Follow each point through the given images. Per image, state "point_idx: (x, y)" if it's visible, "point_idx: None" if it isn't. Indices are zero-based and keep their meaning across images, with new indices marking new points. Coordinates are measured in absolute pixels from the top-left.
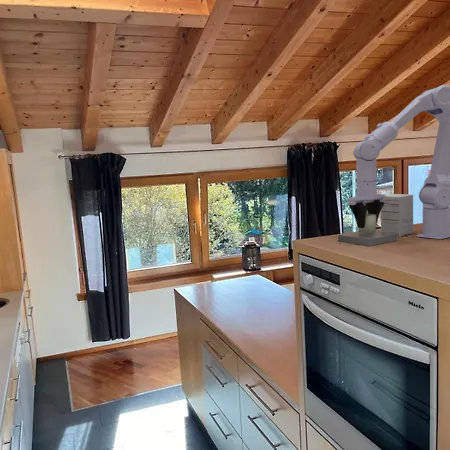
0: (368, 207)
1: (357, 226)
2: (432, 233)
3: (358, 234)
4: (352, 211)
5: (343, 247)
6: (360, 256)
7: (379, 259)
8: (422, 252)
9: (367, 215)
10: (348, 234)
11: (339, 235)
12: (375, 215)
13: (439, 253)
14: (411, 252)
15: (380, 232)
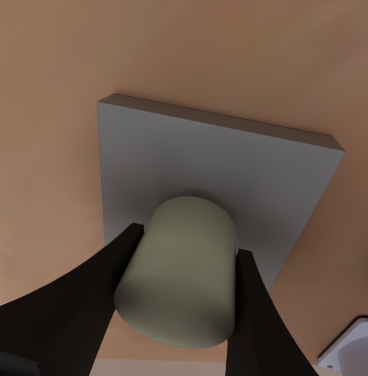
0: (249, 371)
1: (128, 226)
2: (341, 366)
3: (171, 190)
4: (41, 290)
5: (40, 180)
6: (6, 258)
7: (21, 291)
8: (134, 336)
9: (149, 320)
10: (143, 146)
11: (98, 110)
12: (184, 345)
13: (146, 354)
14: (120, 323)
15: (273, 252)
